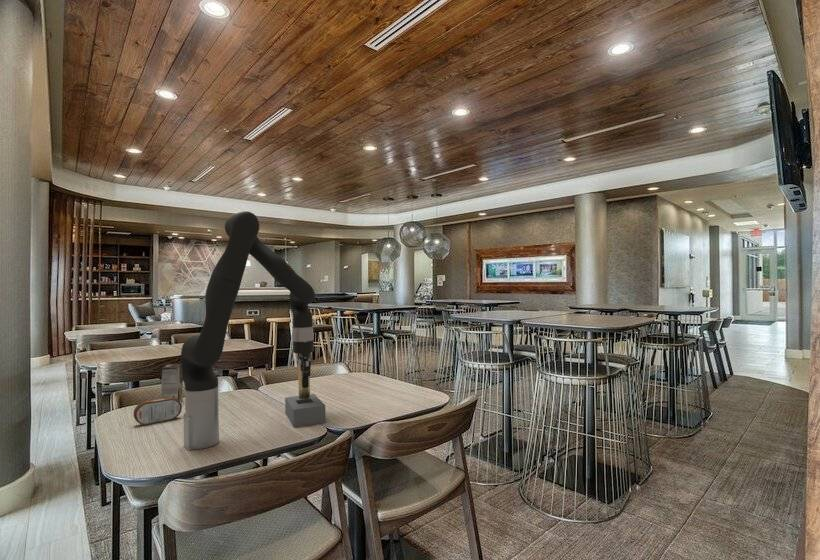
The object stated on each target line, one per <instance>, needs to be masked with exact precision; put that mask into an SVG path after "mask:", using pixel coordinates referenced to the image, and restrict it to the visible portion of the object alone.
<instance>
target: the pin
mask: <svg viewBox="0 0 820 560" xmlns="http://www.w3.org/2000/svg"><path fill="white" fill-rule="evenodd" d="M302 368H303V367H302ZM297 373H298V375H297V376H298V396H299V399H308V398H310V394H311V375H310V376H309V387H308V388H303V387H302V372H301V371H300V365H297ZM305 373H307V371H305Z"/></svg>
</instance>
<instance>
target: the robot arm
mask: <svg viewBox="0 0 820 560" xmlns="http://www.w3.org/2000/svg"><path fill="white" fill-rule="evenodd" d="M224 230H225V233H226V235H227V236H228V242H227V244H226V247H225V249H224V251H223V253H222V255H221V256H220V258H219V259H218V261H217V263H216V264H215V267H214V268H213V271H212V272H211V275H210V278H209V281H208V283H207V287H206V290H205V294H204V295H205V296H204V297H205V298H204V299H205V300H204V304H205V318H204V322H203V325H202V328H201V330H200V332H199V333H200V334H199V335H193V336H190V337H188V338H187V339H186V340H185V341H184V343H182V347H181V353H180V364H181V367H182V378H183V383H184V384H183V385H184V395H185V396H184V400H185V401H184V402H185V403H184V404H185V405H184V406H185V407H184V408H185V411H184V413H183V446H184V447H185V448H186V449H187V450H188V451H191V450H201V449H207V448H211V447H213V446H215V445H217V444H218V443H220V424H219V423H220V420H219V419H220V418H219V414H220V412H219V410H220V409H219V407H220V405H219V377H218V375H216V373H215V372H214V369H213V366H214V365H215V364H217V362H219V360H220V359H221V356H222V354H223V350H224V346H225V341H226V335H227V331H228V326H229V322H230V320H231V316H232V313H233V310H234V306H235V303H236V300H237V297H238V294H239V291H240V287H241V284H242V280H243V277H244V272H245V269H246V267H247V263H248V258H249V255H250V256H251V257H252V258H254V259H255V260H256V261H257V262H258V263H259V264H260V265H261V266H262V267H263V268H264V269H265V270H266V271H267V273H268V274H269V275H270V276H271V277H272V278H273V279H274V280H275V282H277V284H278V285H280V287H282V288H285V289H286V290H288V291H289V304H290V309H291V310H290V311H291V313H292V353H293V354H297V355H298V356H296V362H297V363H296V364H297V366H298V365H300V371H301V372H302V387H303V388H308V387H309V376H310V377H311V366H312V361H311V357H309V353H313V352H314V351H315V343H314V340H315V339H314V337H315V336H314V335H315V334H314V327H313V325H314V324H313V322H314V319H313V313H312V311H310V309H309V305H310V304H311V303H312V302H313V301H314V300H315V296H316V292H315V290H314V288H313V286H312V285H310V284H309V282H308V281H306V280H305V279H304V278H303V277H301V276H300V275H299V274H297V273H296V271H295V270H294V269H293V267H292V266H291V265H290V264H289V263H288V262H287V261H286V260H285V259H284V258H283V257H282V256H281V255H280V254H278V253H277V252H275V251H274V250H272V249H271V248H269V247H268V246H267V245H266V244H265V243H264V242H263V241H262V240H261V239H260V238H259V237H258V235H259V231H260V222H259V218H258V217H257V216H256V215H255V214H254V213H253V212H250V211H244V210H243V211H239V212H237V213H235V214H233V215H232V216H230V217H228V219H226V221H225V223H224ZM302 367H303V368H302ZM305 371H307V373H305Z"/></svg>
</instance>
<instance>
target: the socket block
mask: <svg viewBox="0 0 820 560" xmlns="http://www.w3.org/2000/svg"><path fill="white" fill-rule="evenodd" d="M284 409H285V410H284V412H285V413H284V414H285V416H286V417H287V419H288V420H289V421H290V425H292V427H293V428H298V427H305V426H312V425H317V424H323V423H326V420H327V418H326V415H327V414H326V404H325V403H324V402H323V401H322V400H321V399H320V398H319V397H318V396H317V395H316V393H310V398H308V399H299V395H295V396H288V397H284Z"/></svg>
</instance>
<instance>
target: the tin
mask: <svg viewBox="0 0 820 560" xmlns="http://www.w3.org/2000/svg"><path fill="white" fill-rule="evenodd" d="M182 409H183V405H182V402H181V403H180V401H179V400H178V399H177V398H175V397H166V398H162V397H160V398H153V399H152V398H151V399H147V400H143V401H141V402H140V403H138V404H137V405H136V407H135V408H134V410H133V418H134V420H135V422H137V423H138V424H140V425H142V426H144V425H145V426H148V425H154V424H159V423H164V422H170V421H174V420H176V418H177V417H178V416H179V415H180V414H181V413H182Z"/></svg>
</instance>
